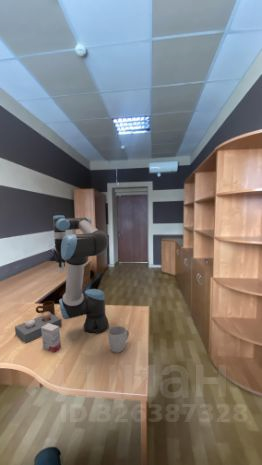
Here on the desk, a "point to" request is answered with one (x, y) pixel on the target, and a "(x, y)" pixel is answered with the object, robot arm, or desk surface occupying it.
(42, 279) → the desk surface
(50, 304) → the mug
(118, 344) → the mug
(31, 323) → the grey plug
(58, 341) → the ink box
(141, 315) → the desk surface
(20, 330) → the panel
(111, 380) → the desk surface
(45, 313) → the terracotta plug
